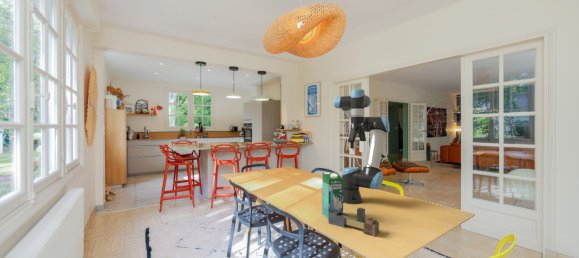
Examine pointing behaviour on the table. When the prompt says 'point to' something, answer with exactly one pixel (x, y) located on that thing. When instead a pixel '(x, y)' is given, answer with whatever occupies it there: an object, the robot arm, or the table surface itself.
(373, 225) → the socket
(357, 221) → the slip tube
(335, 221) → the sleeve
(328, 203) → the milk carton
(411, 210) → the table surface
